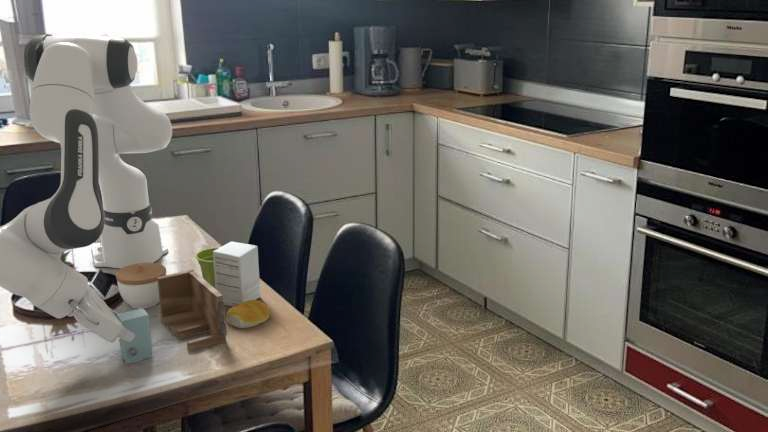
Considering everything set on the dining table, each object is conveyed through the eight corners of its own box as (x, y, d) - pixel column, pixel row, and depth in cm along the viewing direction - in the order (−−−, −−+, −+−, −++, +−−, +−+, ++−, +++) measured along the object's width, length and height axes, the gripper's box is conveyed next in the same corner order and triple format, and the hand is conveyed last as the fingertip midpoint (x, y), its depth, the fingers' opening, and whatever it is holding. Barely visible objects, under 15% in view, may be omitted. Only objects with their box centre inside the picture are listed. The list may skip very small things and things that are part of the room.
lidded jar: (154, 289, 181) (150, 252, 178) (178, 303, 174) (174, 264, 171) (110, 303, 174) (106, 264, 171) (134, 317, 167) (129, 277, 164)
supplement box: (234, 291, 180) (231, 240, 175) (261, 297, 177) (258, 245, 173) (215, 303, 173) (211, 250, 169) (242, 309, 170) (239, 256, 166)
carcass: (161, 320, 165) (157, 277, 162) (196, 311, 169) (192, 269, 166) (191, 353, 151) (187, 306, 148) (228, 342, 155) (225, 297, 152)
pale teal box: (121, 356, 150) (116, 314, 147) (147, 349, 153) (142, 308, 150) (128, 366, 146) (123, 323, 144) (154, 359, 149) (150, 316, 146)
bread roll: (276, 317, 167) (276, 300, 166) (247, 332, 160) (245, 315, 159) (249, 307, 172) (248, 291, 170) (219, 322, 165) (218, 305, 164)
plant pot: (230, 278, 187) (227, 244, 185) (245, 290, 180) (243, 255, 177) (192, 286, 183) (189, 252, 180) (207, 299, 175) (204, 264, 172)
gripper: (89, 298, 131) (152, 335, 139) (62, 261, 147) (119, 296, 156) (65, 328, 130) (130, 364, 138) (40, 288, 146) (99, 322, 155)
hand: (124, 328), depth 147 cm, fingers open, 8 cm apart
